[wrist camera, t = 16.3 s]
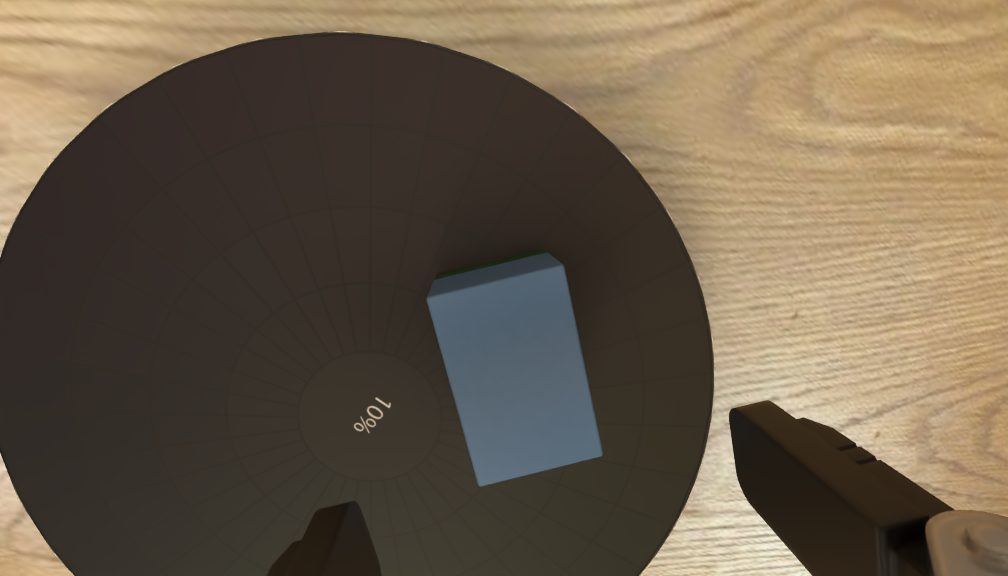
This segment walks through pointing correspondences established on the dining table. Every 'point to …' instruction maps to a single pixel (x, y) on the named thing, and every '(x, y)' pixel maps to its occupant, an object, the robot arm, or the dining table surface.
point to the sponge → (515, 365)
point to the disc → (334, 319)
